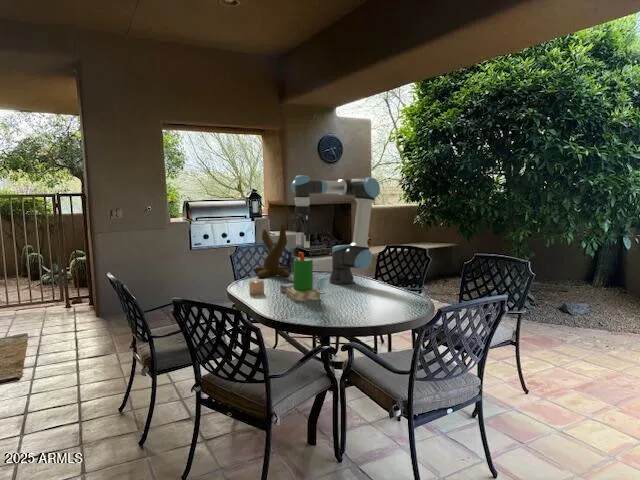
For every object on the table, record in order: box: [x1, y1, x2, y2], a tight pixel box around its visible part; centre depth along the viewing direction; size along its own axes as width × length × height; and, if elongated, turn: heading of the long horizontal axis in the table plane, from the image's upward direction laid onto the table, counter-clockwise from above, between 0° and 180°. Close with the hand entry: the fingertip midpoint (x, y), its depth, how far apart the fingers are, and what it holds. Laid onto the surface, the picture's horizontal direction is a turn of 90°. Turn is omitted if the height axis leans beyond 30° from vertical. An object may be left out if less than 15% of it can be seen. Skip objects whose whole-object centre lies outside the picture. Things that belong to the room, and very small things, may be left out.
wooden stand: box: [253, 223, 291, 279], centre depth 293 cm, size 29×29×35 cm
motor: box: [293, 251, 314, 291], centre depth 230 cm, size 10×9×20 cm
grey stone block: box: [280, 283, 294, 294], centre depth 245 cm, size 8×5×4 cm, turn 142°
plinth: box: [285, 287, 321, 302], centre depth 231 cm, size 14×14×5 cm
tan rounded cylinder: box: [248, 279, 265, 297], centre depth 239 cm, size 8×8×7 cm
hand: (302, 246), depth 228 cm, fingers open, 13 cm apart
